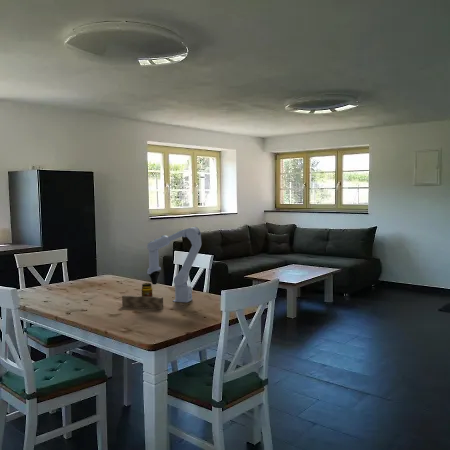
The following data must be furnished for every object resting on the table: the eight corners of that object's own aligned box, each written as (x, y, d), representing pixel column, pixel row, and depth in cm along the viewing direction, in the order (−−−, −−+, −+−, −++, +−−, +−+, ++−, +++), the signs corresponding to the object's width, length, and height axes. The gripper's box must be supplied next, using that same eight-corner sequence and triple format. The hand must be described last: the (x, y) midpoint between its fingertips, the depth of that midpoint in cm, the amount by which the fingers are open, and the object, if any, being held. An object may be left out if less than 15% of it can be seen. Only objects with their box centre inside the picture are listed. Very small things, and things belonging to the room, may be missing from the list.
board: (163, 308, 243) (163, 297, 242) (161, 309, 240) (161, 298, 240) (124, 305, 250) (124, 294, 249) (122, 306, 248) (122, 295, 247)
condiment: (150, 306, 247) (150, 285, 246) (136, 305, 249) (135, 284, 248) (155, 303, 254) (154, 282, 254) (141, 302, 256) (140, 282, 255)
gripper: (153, 259, 269) (153, 281, 270) (141, 263, 255) (142, 286, 256) (163, 259, 267) (164, 282, 268) (153, 263, 253) (153, 286, 254)
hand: (154, 284), depth 261 cm, fingers closed
